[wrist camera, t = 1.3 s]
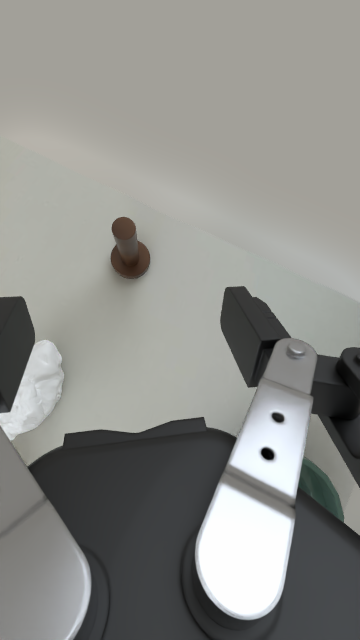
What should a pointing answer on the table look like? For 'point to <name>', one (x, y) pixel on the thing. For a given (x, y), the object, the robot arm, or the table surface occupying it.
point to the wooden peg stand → (128, 250)
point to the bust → (35, 391)
